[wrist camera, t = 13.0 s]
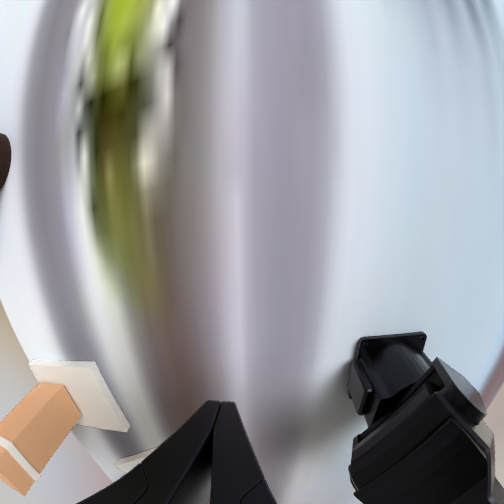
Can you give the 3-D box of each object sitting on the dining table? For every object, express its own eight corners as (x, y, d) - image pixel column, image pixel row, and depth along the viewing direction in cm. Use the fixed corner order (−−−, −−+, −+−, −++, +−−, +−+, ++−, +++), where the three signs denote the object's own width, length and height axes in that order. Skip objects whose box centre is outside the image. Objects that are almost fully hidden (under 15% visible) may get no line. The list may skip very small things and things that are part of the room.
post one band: (63, 383, 23) (-7, 463, 9) (83, 416, 24) (26, 497, 10) (39, 380, 23) (-27, 448, 10) (57, 411, 24) (2, 481, 11)
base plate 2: (162, 444, 26) (159, 451, 24) (217, 480, 27) (215, 486, 26) (117, 460, 28) (114, 465, 26) (165, 491, 29) (163, 497, 28)
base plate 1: (95, 361, 23) (89, 367, 22) (130, 425, 25) (126, 432, 24) (33, 359, 24) (28, 363, 23) (66, 415, 26) (62, 420, 25)
